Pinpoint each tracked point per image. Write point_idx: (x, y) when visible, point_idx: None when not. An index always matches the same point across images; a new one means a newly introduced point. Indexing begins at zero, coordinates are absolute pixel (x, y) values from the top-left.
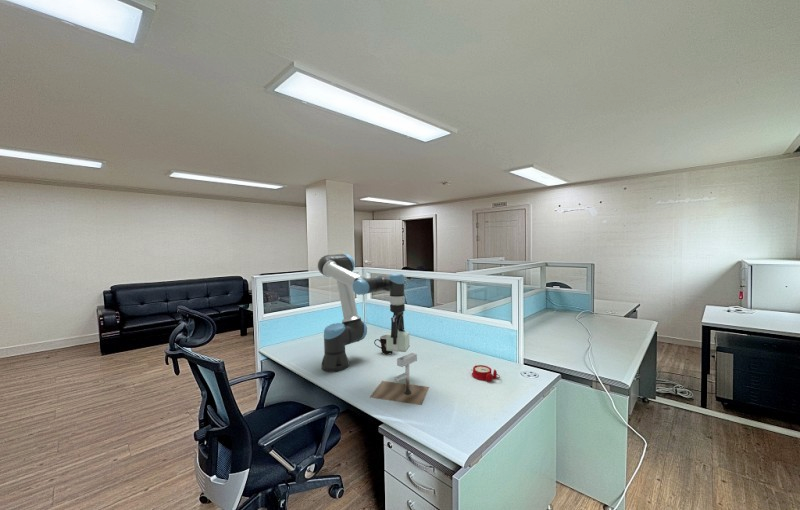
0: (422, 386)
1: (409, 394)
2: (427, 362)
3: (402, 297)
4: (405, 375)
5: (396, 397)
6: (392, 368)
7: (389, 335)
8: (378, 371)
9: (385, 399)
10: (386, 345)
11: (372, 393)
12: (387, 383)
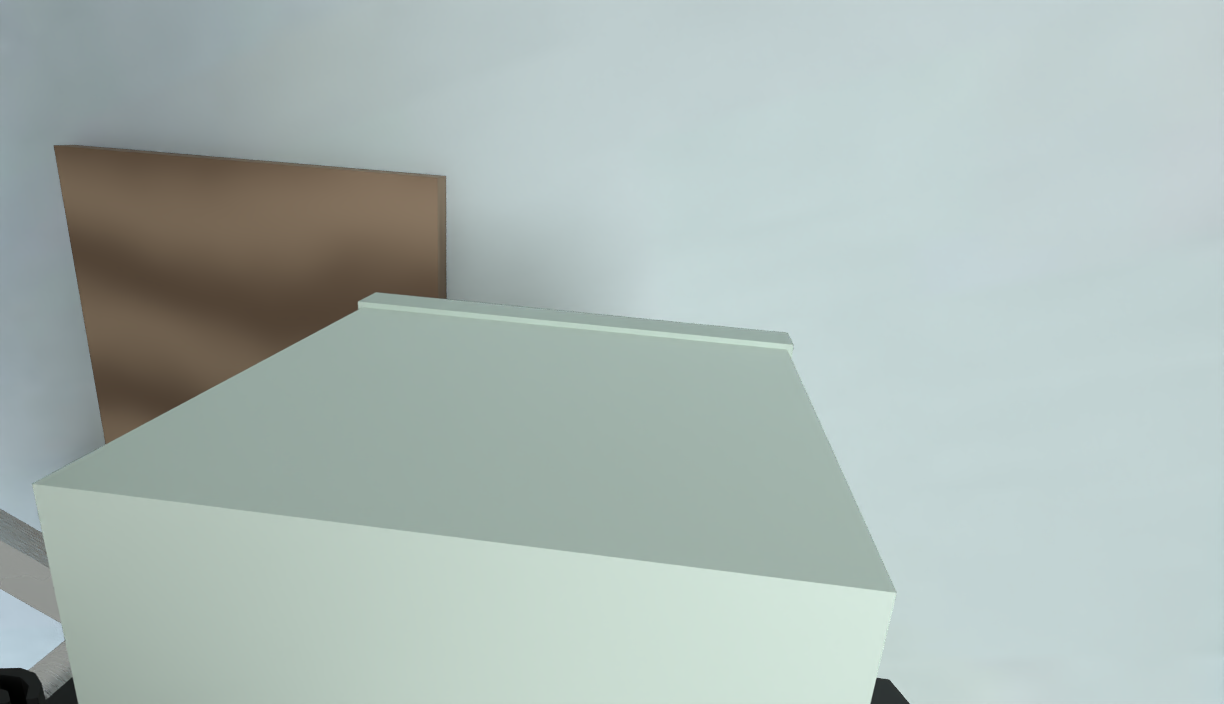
0: None
1: None
2: (1109, 610)
3: None
4: (52, 614)
5: (157, 412)
6: (886, 200)
7: (68, 628)
8: (761, 17)
9: (86, 319)
10: (322, 329)
11: (130, 152)
12: (392, 259)
